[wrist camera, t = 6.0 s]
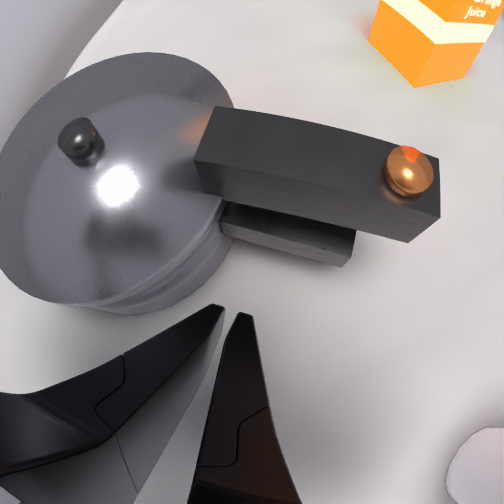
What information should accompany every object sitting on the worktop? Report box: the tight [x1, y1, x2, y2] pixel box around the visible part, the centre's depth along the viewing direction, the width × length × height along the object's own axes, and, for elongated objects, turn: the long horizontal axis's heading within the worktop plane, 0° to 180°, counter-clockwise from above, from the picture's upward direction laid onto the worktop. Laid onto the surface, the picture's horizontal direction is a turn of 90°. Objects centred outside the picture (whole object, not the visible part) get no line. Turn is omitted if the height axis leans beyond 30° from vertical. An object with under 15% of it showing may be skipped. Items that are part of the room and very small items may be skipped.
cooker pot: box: [91, 201, 356, 315], centre depth 19 cm, size 15×24×6 cm, turn 73°
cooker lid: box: [0, 52, 440, 307], centre depth 13 cm, size 16×24×4 cm, turn 76°
